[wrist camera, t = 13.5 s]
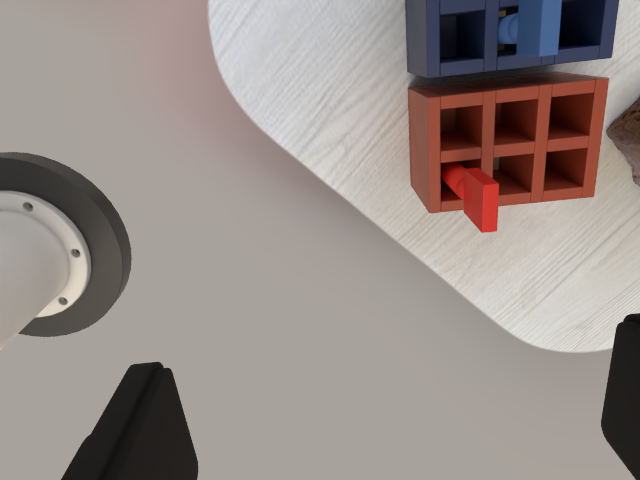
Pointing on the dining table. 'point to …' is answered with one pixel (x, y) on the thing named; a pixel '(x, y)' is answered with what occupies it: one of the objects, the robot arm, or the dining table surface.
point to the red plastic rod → (474, 193)
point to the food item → (628, 137)
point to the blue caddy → (482, 35)
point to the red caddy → (509, 136)
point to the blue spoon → (532, 28)
